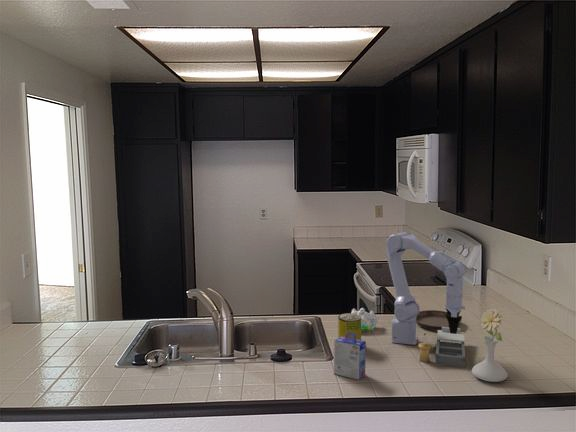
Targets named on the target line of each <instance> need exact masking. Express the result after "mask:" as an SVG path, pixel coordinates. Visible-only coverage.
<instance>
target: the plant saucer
mask: <svg viewBox="0 0 576 432" xmlns="http://www.w3.org/2000/svg"><path fill="white" fill-rule="evenodd" d="M446 314H448V313H447V311H445V310H444V311H443V310H436V309H435V310H434V309H433V310H431V309H430V310H429V309H428V310H420V312H419V314H418V315H417V318H416V325H418V326H419V327H420V328H424V329H426V330H430V331H436V332H438V330H442V327H449V323H448V320H447V318H446ZM462 322H463V321H462V319H461V321H460V322H459V325H460V324H461V323H462Z"/></svg>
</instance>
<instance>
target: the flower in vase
mask: <svg viewBox="0 0 576 432" xmlns="http://www.w3.org/2000/svg"><path fill="white" fill-rule="evenodd" d="M502 318H503V315H502V314H501V312H499V310H498V309H497V308H495V309H493V308H490V309H487V311H484V312H483V314H482V317H481V319H480V322H481V324H480V327H482V329H484V332H487V333H488V334H489V335H486V336H482V339H483V340H484V342H485V346H486V357H485V359H484V360H482V361H480V362H478V363H476V364H475V365H474V366H473V367H472V369H471V373H472V375H473V376H475V377H476V378H477V379H480V380H482V381H485V382H492V383H498V382H503V381H506V380H507V378H508V372H507V371H506V369H505V368H504V367H503V366H501V365H500V364H499V363H498V362H497V361H496V359H495V347H496V345H497V344H498V342H499V341H502V342H503V338H502V334H501V332H498V329H497V328H499V326H500V325H501V324H502V320H503V319H502ZM494 331H495V333H494Z"/></svg>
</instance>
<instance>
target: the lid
mask: <svg viewBox="0 0 576 432" xmlns="http://www.w3.org/2000/svg"><path fill="white" fill-rule="evenodd" d="M436 337H437V338H436V341H437V340H440V341H444V342H454V343H461V342H464V343H465V332H462V331H461V328H460V327H458V329H457V333H456V334H451V333H450V330H449V327H442V330H438V331H437V336H436Z"/></svg>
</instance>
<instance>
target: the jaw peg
mask: <svg viewBox="0 0 576 432" xmlns="http://www.w3.org/2000/svg"><path fill="white" fill-rule="evenodd" d="M418 349H419V362H421V363H425V364H426V363H429V362H430V351H431V350H432V345H431V344H430V343H427V342H420V343H418Z"/></svg>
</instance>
